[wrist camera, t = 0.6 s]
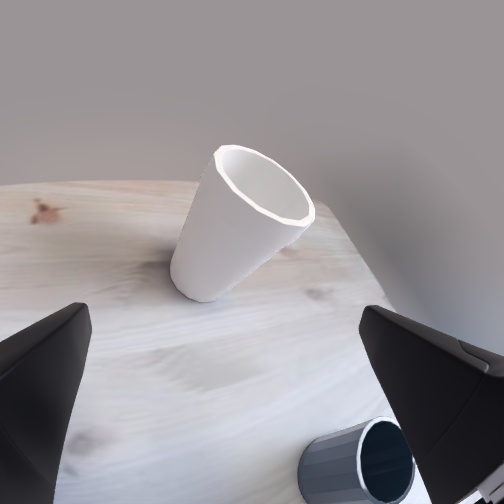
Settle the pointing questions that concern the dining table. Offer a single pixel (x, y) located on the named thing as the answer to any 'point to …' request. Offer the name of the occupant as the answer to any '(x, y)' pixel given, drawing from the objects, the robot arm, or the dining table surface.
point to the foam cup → (237, 222)
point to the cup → (358, 465)
